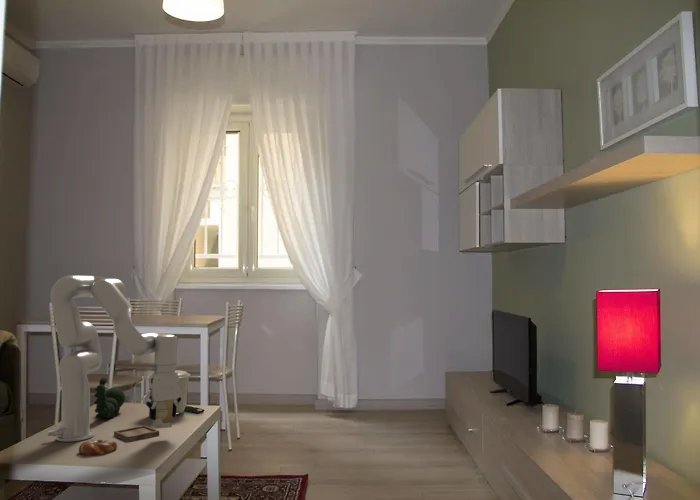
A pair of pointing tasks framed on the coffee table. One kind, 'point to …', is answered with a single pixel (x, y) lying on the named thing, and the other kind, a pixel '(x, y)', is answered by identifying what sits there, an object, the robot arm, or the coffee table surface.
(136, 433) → the wooden tray
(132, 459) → the coffee table surface
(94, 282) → the robot arm
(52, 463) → the coffee table surface
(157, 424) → the skincare box
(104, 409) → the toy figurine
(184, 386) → the canister
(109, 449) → the pretzel
